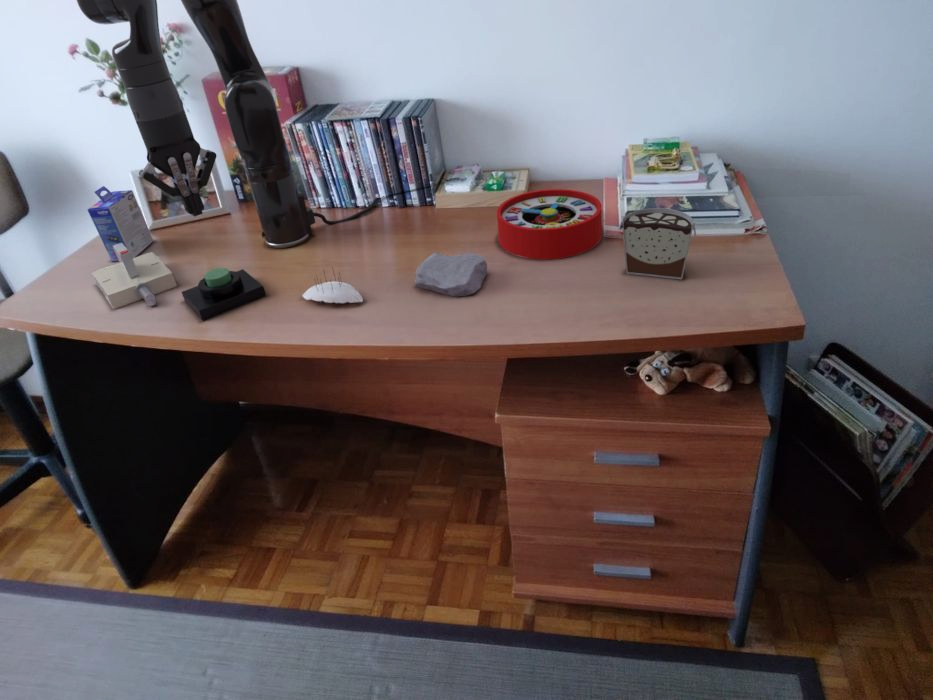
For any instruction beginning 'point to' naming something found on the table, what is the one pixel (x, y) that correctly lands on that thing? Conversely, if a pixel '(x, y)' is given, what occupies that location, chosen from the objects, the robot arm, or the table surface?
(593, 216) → the toy clock
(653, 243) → the food container
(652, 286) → the table surface
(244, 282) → the button housing
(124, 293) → the block
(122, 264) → the pale grey rectangular block
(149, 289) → the spout
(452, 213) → the table surface
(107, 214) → the ink cartridge box
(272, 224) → the robot arm
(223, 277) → the push button
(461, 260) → the stone block
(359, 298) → the pincushion
